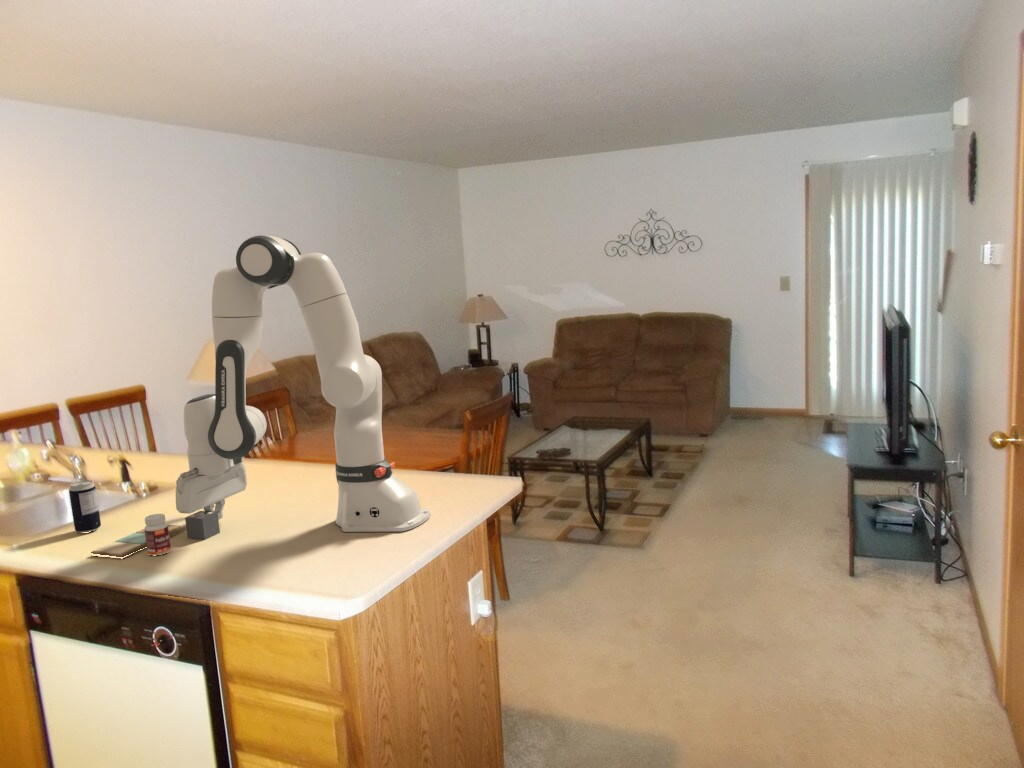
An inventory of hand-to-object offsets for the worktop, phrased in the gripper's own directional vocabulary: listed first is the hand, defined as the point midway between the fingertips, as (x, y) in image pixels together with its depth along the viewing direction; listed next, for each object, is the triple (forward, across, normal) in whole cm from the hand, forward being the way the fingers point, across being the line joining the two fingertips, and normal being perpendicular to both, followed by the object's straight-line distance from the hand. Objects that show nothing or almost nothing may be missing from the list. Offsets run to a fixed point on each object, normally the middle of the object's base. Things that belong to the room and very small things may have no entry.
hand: (215, 519), depth 188 cm
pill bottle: (+2, -16, +2) cm, 16 cm away
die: (+2, -4, 0) cm, 5 cm away
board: (+2, -9, +12) cm, 15 cm away
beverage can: (+2, -8, +33) cm, 34 cm away
